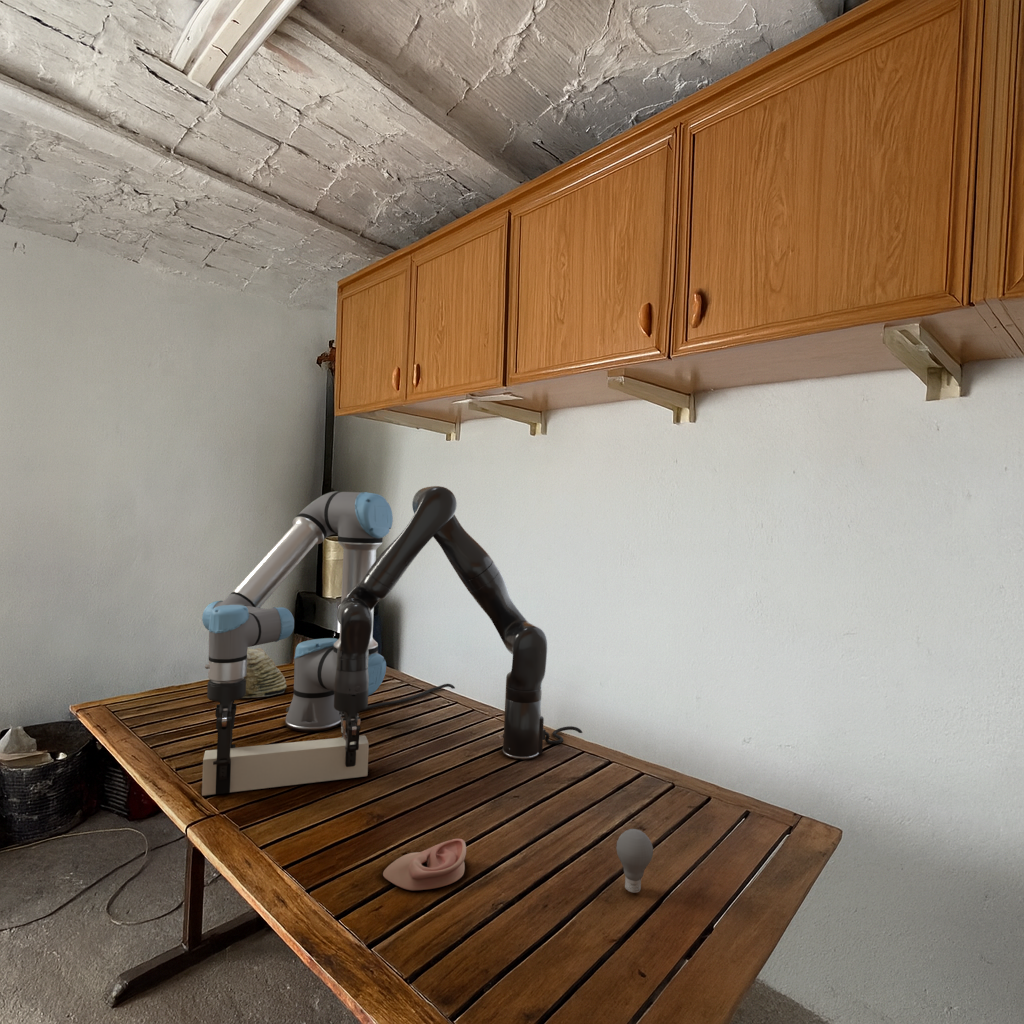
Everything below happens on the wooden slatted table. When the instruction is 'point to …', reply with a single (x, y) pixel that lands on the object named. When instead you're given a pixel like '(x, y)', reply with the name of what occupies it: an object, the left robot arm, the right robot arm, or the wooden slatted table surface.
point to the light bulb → (634, 857)
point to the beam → (286, 764)
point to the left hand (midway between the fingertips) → (223, 786)
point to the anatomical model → (429, 867)
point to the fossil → (262, 675)
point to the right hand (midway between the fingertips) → (348, 760)
